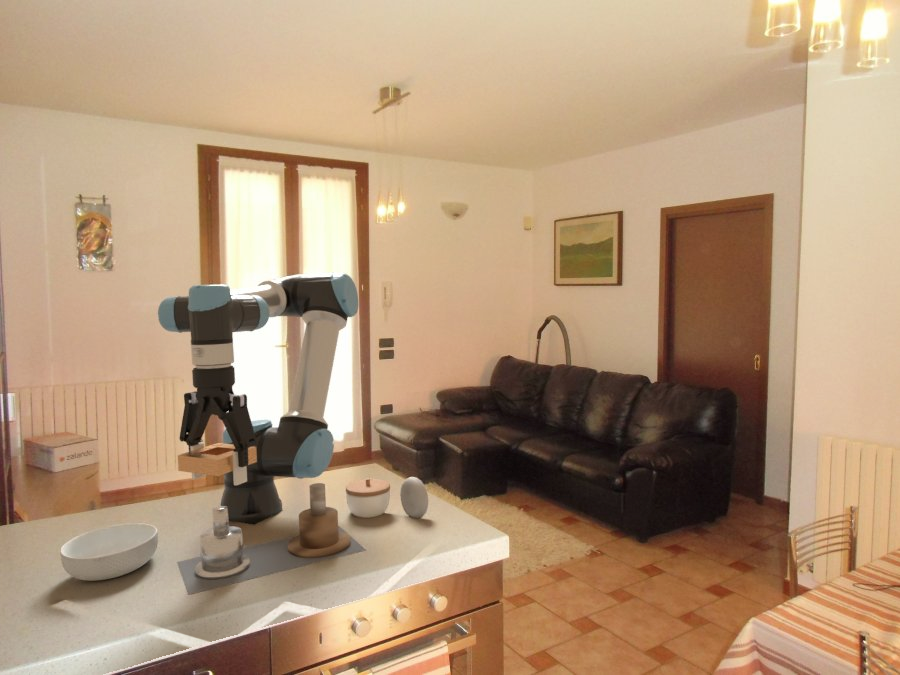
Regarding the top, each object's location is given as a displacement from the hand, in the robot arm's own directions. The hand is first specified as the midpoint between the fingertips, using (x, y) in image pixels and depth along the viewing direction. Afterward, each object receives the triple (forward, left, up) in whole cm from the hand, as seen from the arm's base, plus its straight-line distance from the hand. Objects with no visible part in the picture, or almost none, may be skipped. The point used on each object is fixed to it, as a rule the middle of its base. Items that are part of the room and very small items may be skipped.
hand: (219, 480), depth 116 cm
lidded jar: (+10, +37, -19) cm, 43 cm away
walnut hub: (+11, +16, -17) cm, 26 cm away
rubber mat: (+6, +8, -19) cm, 21 cm away
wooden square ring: (0, 0, +3) cm, 3 cm away
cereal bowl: (-21, -8, -19) cm, 29 cm away
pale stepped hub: (0, 0, -17) cm, 17 cm away
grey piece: (+21, +40, -19) cm, 49 cm away
